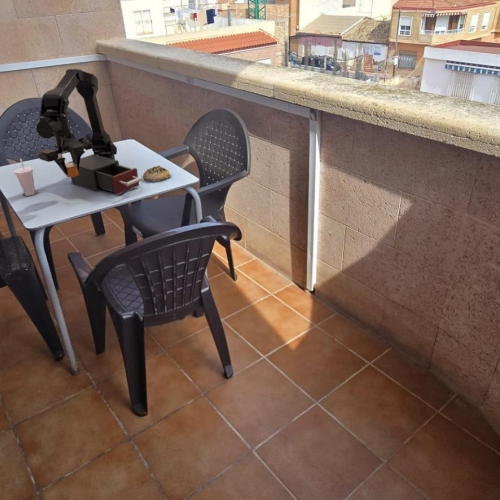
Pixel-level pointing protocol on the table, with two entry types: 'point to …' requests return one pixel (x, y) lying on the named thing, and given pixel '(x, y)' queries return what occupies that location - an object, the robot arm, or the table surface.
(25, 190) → the smoothie
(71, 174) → the cylinder
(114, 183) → the drawer
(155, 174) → the bread roll
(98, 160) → the drawer box with handle
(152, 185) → the table surface
